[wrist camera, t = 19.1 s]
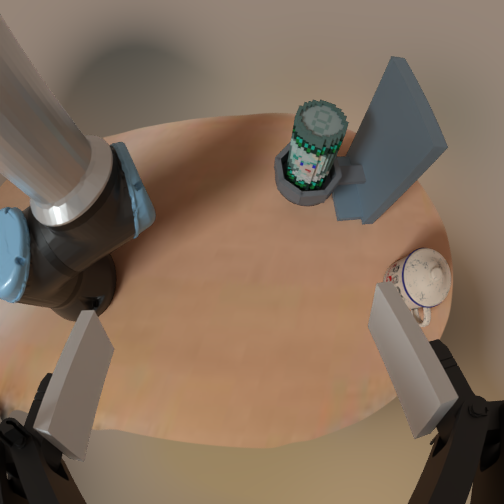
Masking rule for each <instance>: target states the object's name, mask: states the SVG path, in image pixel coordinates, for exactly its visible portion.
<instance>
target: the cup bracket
mask: <svg viewBox="0 0 504 504" xmlns="http://www.w3.org/2000/svg"><path fill="white" fill-rule="evenodd" d="M290 144H291V141H290V142H289V144H288V145H287V146H286V147H285V148H284V149H283V150H282V151H281V152H280V153H279V154H278V155H277V156H276V157H275V165H274V169H275V180H276V185H277V189H278V190H279V191H280V193H281V194H282V195H283V196H284V197H285V198H286V199H287V200H289V201H290V202H292V203H294V204H297V205H301V206H314V205H318V204H320V203H324V202H325V200H326V199H327V198H328V197H329V196H330V195H331V193H332V196H333V201H334V206H335V211H336V216H337V221H343V220H356V219H361V220H362V224H373V223H374V222H375V221H376V220H377V219H378V218H379V217H380V216H381V215H382V214H383V213H384V212H385V211H386V210H387V209H388V208H389V207H390V206H391V205H392V204H393V203H394V202H395V201H396V200H397V199H398V198H399V197H400V196H401V195H402V194H403V193H404V192H405V191H406V190H407V189H408V188H409V187H410V186H411V185H412V184H413V183H414V182H415V181H416V180H417V179H418V178H419V177H420V176H421V175H422V174H423V173H424V172H425V171H426V170H427V169H428V168H429V167H430V166H431V165H432V164H433V163H434V162H435V161H436V160H437V159H438V157H439V156H440V155H441V154H442V153H443V152H444V151H445V150H446V149H447V148H448V146H447V144H446V142H445V139H444V136H443V134H442V132H441V129H440V127H439V125H438V123H437V120H436V118H435V116H434V114H433V111H432V109H431V107H430V105H429V103H428V101H427V99H426V97H425V95H424V93H423V91H422V89H421V87H420V85H419V83H418V81H417V79H416V78H415V76H414V74H413V72H412V70H411V69H410V67H409V65H408V63H407V61H406V60H405V58H400V57H393V56H391V59H390V61H389V63H388V66H387V68H386V70H385V72H384V74H383V77H382V79H381V81H380V84H379V86H378V88H377V90H376V92H375V95H374V97H373V99H372V101H371V103H370V106H369V108H368V110H367V112H366V114H365V117H364V119H363V121H362V123H361V125H360V127H359V129H358V131H357V133H356V136H355V138H354V140H353V142H352V144H351V146H350V148H349V150H348V152H347V154H346V156H347V157H337V155H336V157H335V160H334V162H333V164H332V167H331V169H330V171H329V173H328V176H327V178H326V180H325V183H324V185H323V187H322V189H321V188H320V189H319V190H318V191H304V192H302V191H301V190H299V189H298V188H297V187H295V186H294V185H292V184H291V183H290V182H288V181H287V180H286V177H287V176H285V173H286V167H287V161H288V156H289V150H290Z"/></svg>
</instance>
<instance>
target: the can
mask: <svg viewBox="0 0 504 504" xmlns="http://www.w3.org/2000/svg"><path fill="white" fill-rule="evenodd" d="M346 117H347V116H344V113H343V112H341V109H339V108H336V105H335V104H332V103H329V102H326V101H322V100H320V102H318V101H316V100H313V101H312V102H311V101H309V102H308V103H307V102H305V103H304V106H299V109H298V111H297V113H296V116H295V120H294V126H293V132H292V138H291V144H290V150H289V156H288V161H287V167H286V173H285V176H287V177H286V180H287V181H288V182H290V183H291V184H292V185H294V186H295V187H297V188H298V189H299V190H301V191H302V192H304V191H318V190H319V189H320V188H321V189H322V187H323V185H324V183H325V180H326V178H327V176H328V173H329V171H330V169H331V167H332V164H333V162H334V160H335V157H336V155H337V153H338V150H339V148H340V146H341V143H342V141H343V139H344V136H345V134H346V130H347V126H348V122H347V121H346Z"/></svg>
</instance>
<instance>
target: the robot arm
mask: <svg viewBox="0 0 504 504" xmlns="http://www.w3.org/2000/svg"><path fill="white" fill-rule="evenodd" d="M0 173H1V174H2V175H3V176H5V177H6V178H7V179H8V180H9V181H11V182H12V183H13V184H14V185H16V186H17V187H18V188H19V189H20V190H22V191H23V192H24V193H25V194H27V195H28V196H29V197H30V206H29V207H28V208H26V209H25V210H24V211H21V210H20V209H18V208H16V207H14V208H10V207H6V208H3V209H1V210H0V299H3V300H6V301H7V302H10V303H14V302H15V303H22V304H28V305H34V306H41V307H48V308H51V309H52V310H53V311H54V312H56V313H57V314H58V315H59V316H61V317H63V318H64V319H67V320H70V321H76V323H75V325H74V327H73V329H72V331H71V334H70V336H69V338H68V340H67V342H66V344H65V347H64V349H63V351H62V353H61V356H60V358H59V360H58V363H57V365H56V367H55V370H54V372H53V374H52V373H47V375H46V376H45V377H44V378H43V380H42V381H41V383H40V385H39V388H38V390H37V393H36V395H35V398H34V399H35V400H33V403H32V405H31V408H30V411H29V414H28V416H27V419H26V422H25V425H24V427H23V426H22V425H21V424H20V423H19V422H18V421H17V420H16V419H14V418H7V419H4V420H3V421H2V422H1V424H0V504H86V502H85V500H84V498H83V497H82V495H81V493H80V491H79V489H78V487H77V486H76V484H75V482H74V480H73V478H72V476H71V474H70V472H69V470H68V468H67V466H66V464H65V462H64V461H63V459H62V454H64V455H66V456H67V457H68V458H70V459H73V460H78V461H83V462H84V460H85V456H86V450H87V447H88V442H89V438H90V434H91V430H92V426H93V422H94V418H95V414H96V410H97V406H98V402H99V399H100V395H101V392H102V388H103V385H104V381H105V378H106V374H107V371H108V368H109V364H110V361H111V358H112V355H113V352H114V347H113V346H112V344H111V342H110V340H109V338H108V336H107V334H106V332H105V330H104V328H103V327H102V325H101V323H100V321H99V319H98V316H99V315H101V314H102V313H103V312H104V311H105V309H106V308H107V307H108V305H109V304H110V302H111V300H112V297H113V295H114V291H115V286H116V270H115V265H114V262H113V260H112V257H111V256H110V254H109V253H111V252H112V251H114V250H115V249H117V248H119V247H120V246H122V245H123V244H125V243H127V242H128V241H130V240H132V239H134V238H137V237H138V235H139V234H140V233H141V232H143V231H144V230H145V229H147V228H148V227H150V226H151V225H152V224H153V223H154V221H155V218H156V213H155V209H154V207H153V205H152V202H151V200H150V198H149V196H148V194H147V191H146V189H145V187H144V185H143V183H142V181H141V178H140V176H139V174H138V171H137V169H136V167H135V165H134V163H133V160H132V158H131V156H130V154H129V152H128V150H127V147H126V145H125V144H124V143H123V142H118V143H113V144H112V145H110V146H109V145H108V143H107V142H106V141H105V140H104V139H102V138H100V137H98V136H95V135H83V134H82V132H81V131H80V130H79V128H78V127H77V126H76V125H75V123H74V122H73V120H72V119H71V118H70V116H69V115H68V114H67V112H66V111H65V110H64V108H63V107H62V105H61V104H60V103H59V101H58V100H57V98H56V97H55V96H54V94H53V93H52V91H51V90H50V89H49V87H48V86H47V85H46V83H45V81H44V80H43V79H42V77H41V76H40V74H39V73H38V72H37V70H36V68H35V67H34V66H33V64H32V63H31V61H30V60H29V58H28V57H27V55H26V54H25V52H24V51H23V49H22V48H21V46H20V45H19V43H18V42H17V40H16V39H15V37H14V35H13V34H12V32H11V30H10V29H9V27H8V26H7V24H6V23H5V21H4V19H3V18H2V16H1V14H0ZM368 328H369V330H370V332H371V334H372V337H373V339H374V341H375V343H376V346H377V348H378V350H379V352H380V355H381V357H382V359H383V362H384V364H385V366H386V369H387V371H388V373H389V376H390V378H391V380H392V383H393V385H394V388H395V390H396V393H397V395H398V398H399V400H400V403H401V405H402V408H403V410H404V412H405V415H406V418H407V421H408V423H409V426H410V428H411V431H412V434H413V437H414V439H416V438H419V437H422V436H425V435H427V434H430V433H431V432H432V431H433V430H434V429H435V427H437V430H438V432H439V433H438V434H437V435H436V436H435V437H434V439H433V440H432V441H431V443H430V445H432V444H433V443H434V445H433V447H432V450H431V453H430V455H429V458H428V460H427V462H426V465H425V467H424V470H423V472H422V474H421V477H420V479H419V481H418V484H417V486H416V488H415V490H414V492H413V494H412V496H411V498H410V500H409V503H408V504H465V503H466V500H467V497H468V495H469V492H470V489H471V486H472V483H473V486H472V495H471V502H470V504H504V400H503V401H491V402H488V401H486V400H485V399H484V398H482V397H480V396H476V395H475V394H474V393H473V391H472V390H471V388H470V386H469V384H468V383H467V381H466V379H465V377H464V375H463V373H462V371H461V370H460V368H459V366H457V363H456V361H455V359H454V358H453V356H452V354H451V353H450V351H449V349H448V348H447V346H446V345H444V344H443V343H442V342H441V341H440V340H439V339H437V340H434V341H430V342H428V340H427V338H426V336H425V335H424V333H423V331H422V330H421V328H420V326H419V325H418V323H417V321H416V320H415V318H414V316H413V315H412V313H411V311H410V310H409V308H408V307H407V305H406V303H405V302H404V300H403V299H402V297H401V295H400V294H399V292H398V291H397V289H396V288H395V286H394V285H393V283H392V282H391V281H388V282H382V283H377V284H376V289H375V294H374V299H373V304H372V309H371V314H370V318H369V323H368ZM6 473H7V474H8V479H7V476H6Z"/></svg>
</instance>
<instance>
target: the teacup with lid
mask: <svg viewBox="0 0 504 504" xmlns="http://www.w3.org/2000/svg"><path fill="white" fill-rule="evenodd" d="M388 281H391V282H392V283H393V285H394V286H395V288H396V289H397V291H398V292H399V294H400V295H401V297H402V299H403V300H404V302H405V303H406V305H407V307H408V308H409V309H411V312H412V315H413V316H414V318H415V320H416V321H417V323H418V325H419V326H420V327H425V326H427V325H428V324H429V323H430V320H431V310H430V307H434V306H436V305H438V304H440V303H441V302H442V301H443V300H444V299H445V297H446V296H447V294H448V292H449V289H450V286H451V272H450V268H449V265H448V263H447V261H446V260H445V258H444V257H443V256H442V255H441V254H440V253H439V252H437V251H435V250H433V249H430V248H419V249H417V250H415V251H413V252H412V253H411V254H410V255H408V256H407V257H405V258H403V259H401V260H399V261H397V262H395V263H393V264H392V265H391V266H390V267H389V268H388V269H387V271H386V273H385V276H384V280H383V282H388ZM420 307H423V311H424V320H423V321H422V320H421V318H420V316H419V313H418V308H420Z"/></svg>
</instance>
